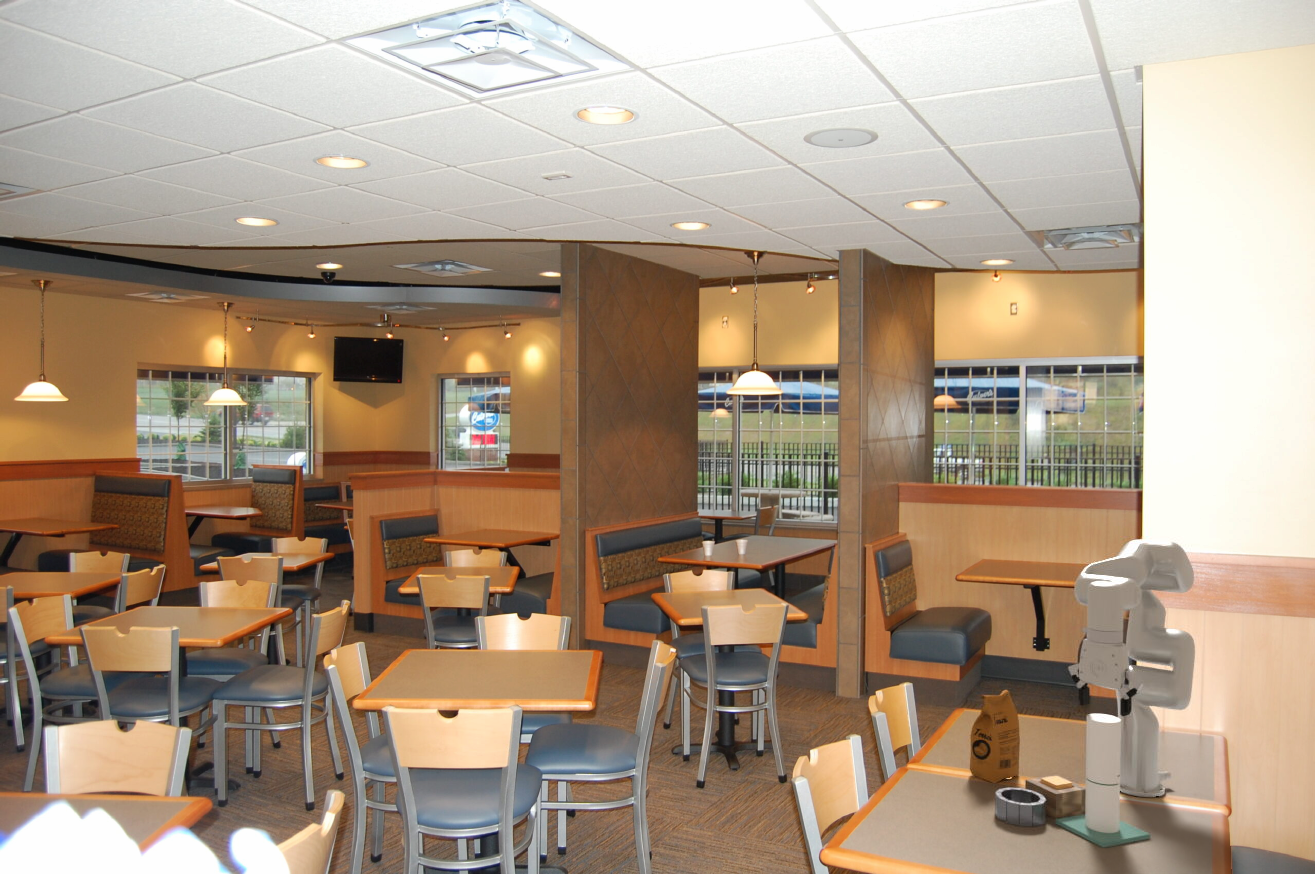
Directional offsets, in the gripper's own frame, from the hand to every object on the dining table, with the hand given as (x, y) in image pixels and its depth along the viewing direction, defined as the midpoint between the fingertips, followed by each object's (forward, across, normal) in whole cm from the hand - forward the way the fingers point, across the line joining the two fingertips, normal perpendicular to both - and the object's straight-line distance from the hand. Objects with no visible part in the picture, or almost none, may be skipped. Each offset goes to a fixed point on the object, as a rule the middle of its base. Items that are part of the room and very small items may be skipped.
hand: (1104, 709), depth 225 cm
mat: (+28, 0, -2) cm, 28 cm away
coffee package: (+29, -36, +10) cm, 47 cm away
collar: (+28, -15, -10) cm, 33 cm away
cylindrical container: (+27, 0, -2) cm, 27 cm away
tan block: (+26, -13, +2) cm, 30 cm away
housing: (+28, -13, +2) cm, 31 cm away
